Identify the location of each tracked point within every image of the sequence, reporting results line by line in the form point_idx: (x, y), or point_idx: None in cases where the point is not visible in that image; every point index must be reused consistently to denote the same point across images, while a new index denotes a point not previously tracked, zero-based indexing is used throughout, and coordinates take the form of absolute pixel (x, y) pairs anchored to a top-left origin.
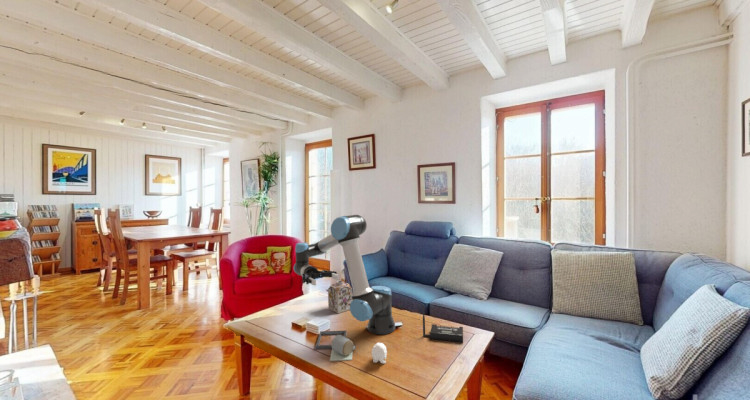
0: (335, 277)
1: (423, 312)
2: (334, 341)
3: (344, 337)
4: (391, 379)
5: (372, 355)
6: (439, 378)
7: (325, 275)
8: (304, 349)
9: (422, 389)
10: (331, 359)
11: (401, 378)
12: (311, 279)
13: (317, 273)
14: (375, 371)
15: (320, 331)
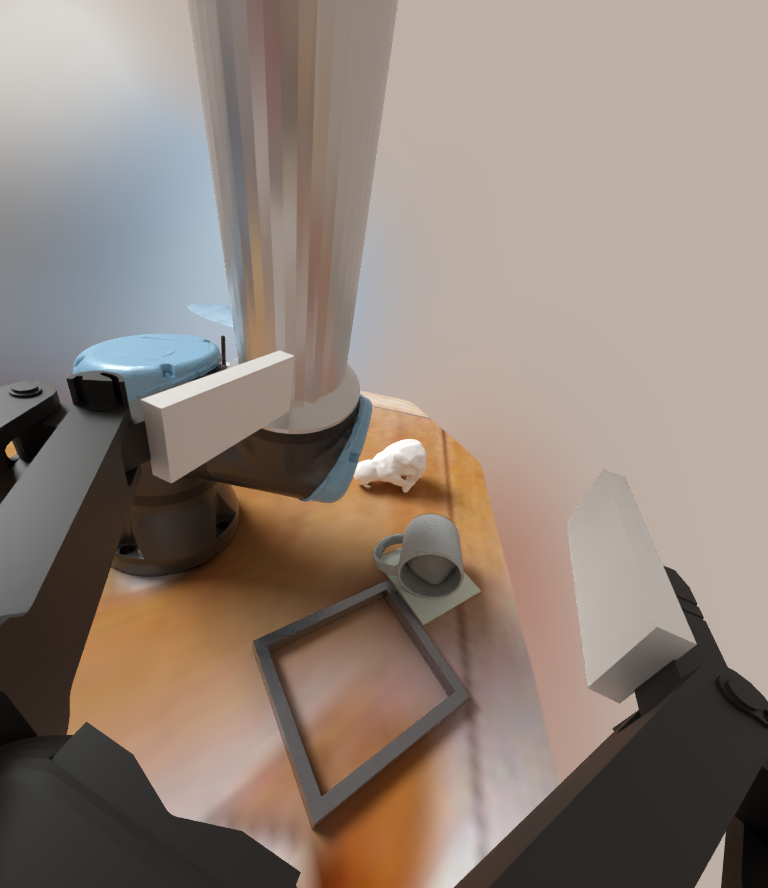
0: (255, 408)
1: (225, 360)
2: (461, 561)
3: (432, 529)
4: (436, 456)
5: (423, 472)
6: (387, 409)
7: (91, 577)
8: (505, 769)
9: (428, 424)
10: (474, 587)
11: (423, 445)
12: (646, 549)
13: (106, 803)
14: (434, 481)
15: (314, 822)
